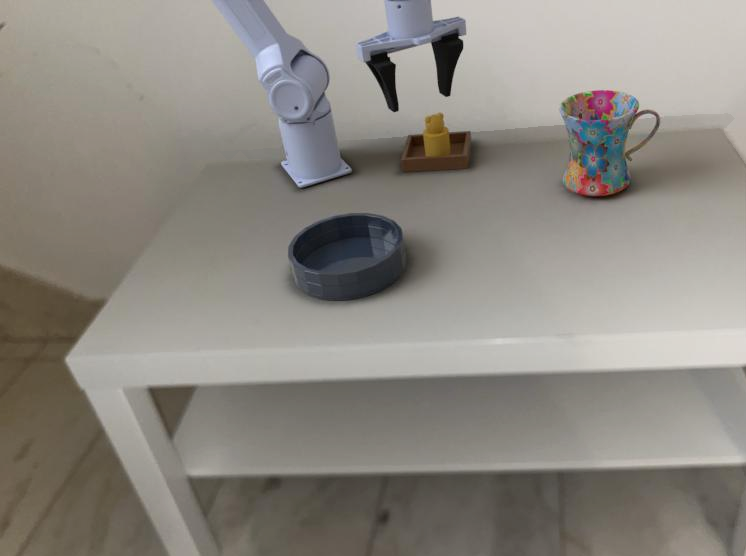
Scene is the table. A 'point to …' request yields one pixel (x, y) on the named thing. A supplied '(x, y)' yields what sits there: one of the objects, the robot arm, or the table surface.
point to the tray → (419, 161)
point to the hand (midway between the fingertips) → (419, 101)
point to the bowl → (347, 256)
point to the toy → (436, 136)
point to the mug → (600, 140)
